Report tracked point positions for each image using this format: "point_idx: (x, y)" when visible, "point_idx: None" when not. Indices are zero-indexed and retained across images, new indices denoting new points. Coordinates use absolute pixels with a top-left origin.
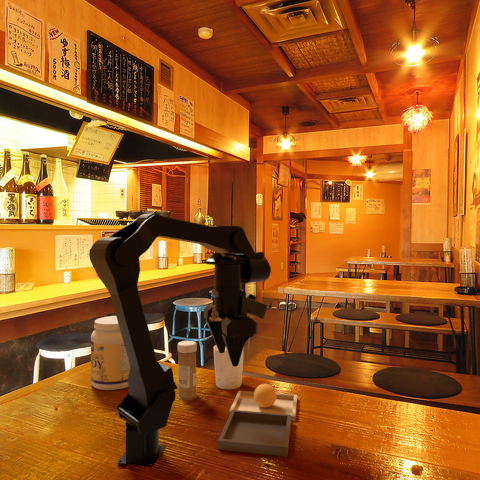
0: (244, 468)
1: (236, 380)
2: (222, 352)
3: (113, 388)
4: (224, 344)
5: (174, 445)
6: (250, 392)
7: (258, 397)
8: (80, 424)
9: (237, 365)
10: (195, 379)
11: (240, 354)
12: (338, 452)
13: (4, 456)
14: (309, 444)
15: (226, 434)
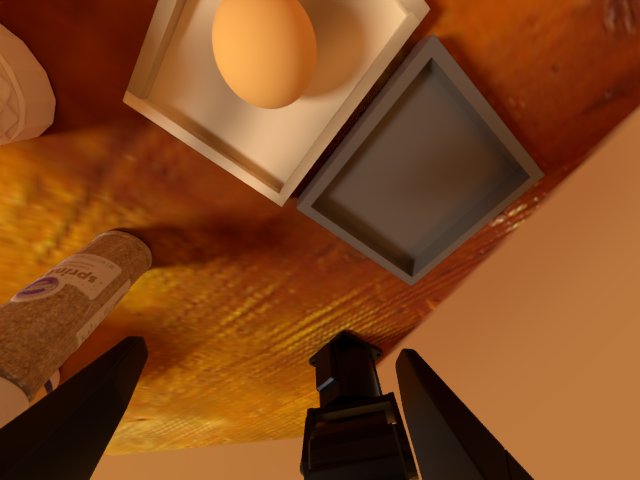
0: (472, 251)
1: (8, 63)
2: (143, 346)
3: (58, 371)
4: (100, 392)
5: (338, 318)
6: (151, 59)
7: (287, 104)
8: (209, 400)
9: (413, 352)
10: (98, 273)
11: (475, 421)
12: (626, 3)
13: (266, 440)
14: (529, 64)
15: (384, 254)
